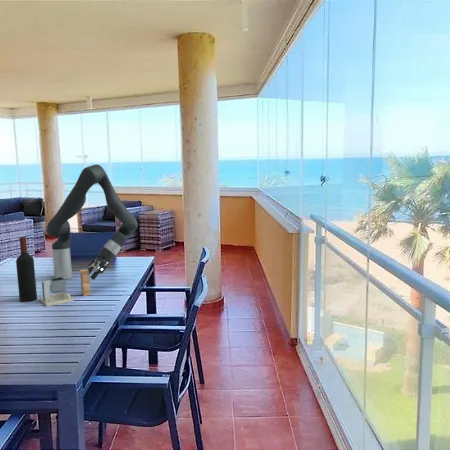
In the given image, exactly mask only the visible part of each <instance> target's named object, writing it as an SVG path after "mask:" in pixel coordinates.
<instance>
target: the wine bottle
mask: <svg viewBox="0 0 450 450" xmlns="http://www.w3.org/2000/svg"><path fill="white" fill-rule="evenodd" d="M27 244H28V242H27V236H20V237H19V246H20V255H19V256H18V257H17V258H16V259H15V264H16V266H15V267H16V275H17V285H18V287H17V288H18V297H19V298H18V299H19V303H30V302H34V301H37V300H38V294H37V284H36V283H37V282H36V280H37V279H36V270H35V259H34V257H33V256H32V255H30V254H29V253H28V245H27Z"/></svg>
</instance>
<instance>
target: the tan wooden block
mask: <svg viewBox="0 0 450 450" xmlns="http://www.w3.org/2000/svg"><path fill="white" fill-rule="evenodd" d="M79 272H80V273H79V276H80V289H81V295H82V296H83V297H85V296H90V295H91V282H90V279H91V278H90V275H89V270H88V269H81V270H79Z"/></svg>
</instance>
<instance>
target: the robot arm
mask: <svg viewBox="0 0 450 450" xmlns="http://www.w3.org/2000/svg"><path fill="white" fill-rule="evenodd" d="M96 184H98V185H99V187H101V189H102V190H103V193H104V197H105V198H104V199H105V202H106V205H107V207H108V208H109V210H110V211H111V213H112V214H113V216H115V218H117V219H118V220H119V221H120V224H121V225H120V227H119V228H118V230H117V231H116V232H114V234H113V235H112V236H111V237H110V239H108V241H107V242H106V243H105V244H104V245H103V247H102V248H101V249H100V250H99V252H98V253H97V254H98V256H99V257H97V256H95V257H94V258H93V259H92V261H91V262H89V263H88V265H87V266H88V269H87V270H89V279H91V280H92V281H94V280H96V278H97V277H98V276H99V275H100V274H101V275H102V274H103V273H104V272H105V270H106V269H107V268H108V266H109V265H110V263H111V262H112V261H113V260H114V258H115V257H116V256H117V254H119V252H120V251H121V249H122V247H124V245H125V244H126V243H127V240H128V239H129V238H130V237H131V235H132V234H133V233H134V232H135V231H136V230H137V228H138V226H139V223H138V221H137V218H135V216H133V214H132V212H131V211H129V210H128V208H127V207H126V206H125V204H124V203H123V201H122V200H121V198H120V197H119V195H118V194H117V192H116V190H115V188H114V186H113V185H112V182H111V181H110V178H109V175H107V172H106V170H105V169H104V168H103V166H102V165H100V164H92V165H90V166H89V165H88V166H87V167H85V168H83V169H82V170H81V172H80V174H79V176H78V178H77V181H76V183H75V184H74V186H73V188H72V189H71V190H70V192H69V194H68V195H67V196H66V198H65V200H64V202H63V203H62V204H61V206H60V207H59V209H58V210H57V212H56V213H55V214H54V216H53V217H52V218H51V219H50V220H49V222H48V223H47V225H46V232H47V234H48V236H49V237H52V238H56V237H57V239H56V240H55V241H54V242H53V243H52V244H51V250H52V262H53V274H54V278H59V277H62V278H64V279H65V281H66V280H69V279H73V271H72V258H71V257H72V256H71V241H72V240H71V239H72V238H71V226H70V225H71V224H70V222H69V221H70V219H72V218H73V217H74V216H76V215H77V214H79V212H81V210H82V208H83V207H84V206H85V203H86V199H87V193H88V191H90V189H91V188H92V187H93V186H94V185H96ZM94 270H95V271H94ZM92 272H93V273H92ZM90 274H91V276H90Z"/></svg>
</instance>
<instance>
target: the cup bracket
mask: <svg viewBox="0 0 450 450" xmlns="http://www.w3.org/2000/svg"><path fill="white" fill-rule="evenodd" d="M66 284H67V283H66V280H65V279H64V278H62V277H59V278H55V277H54V278H49V279H47V280H42V281H41V286H42V287H41V289H42V296H39V301H40V302H42V304H44V306H46V307H50V306H55V305H60V304H64V303H70V302H74V297H73V296H72V295H70V294H69V293H68V292H66V291H67V285H66ZM50 292H51V293H52V294H50Z"/></svg>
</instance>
